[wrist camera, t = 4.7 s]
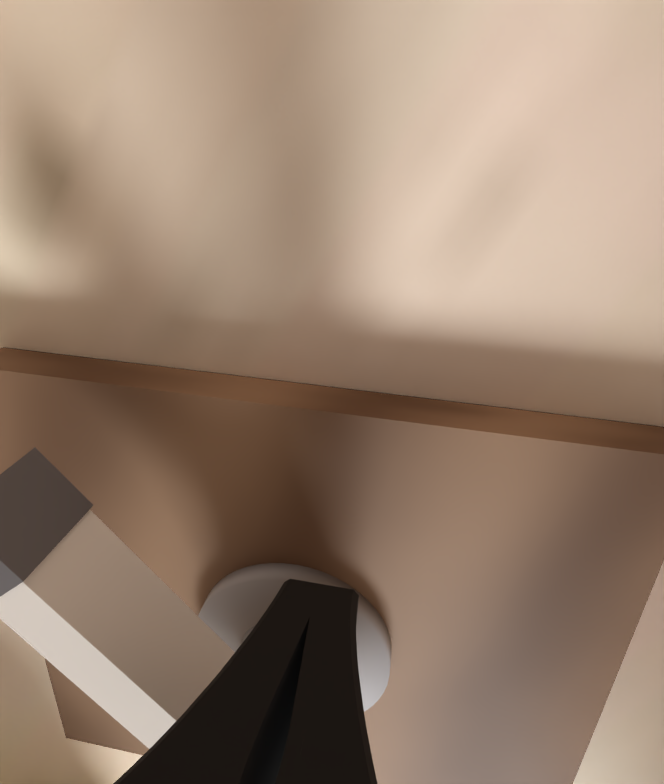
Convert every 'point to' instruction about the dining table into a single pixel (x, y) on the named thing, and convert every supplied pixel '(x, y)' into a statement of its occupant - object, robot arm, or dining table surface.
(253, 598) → the brown rectangular board
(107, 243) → the dining table surface
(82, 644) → the gray-tipped lever post
